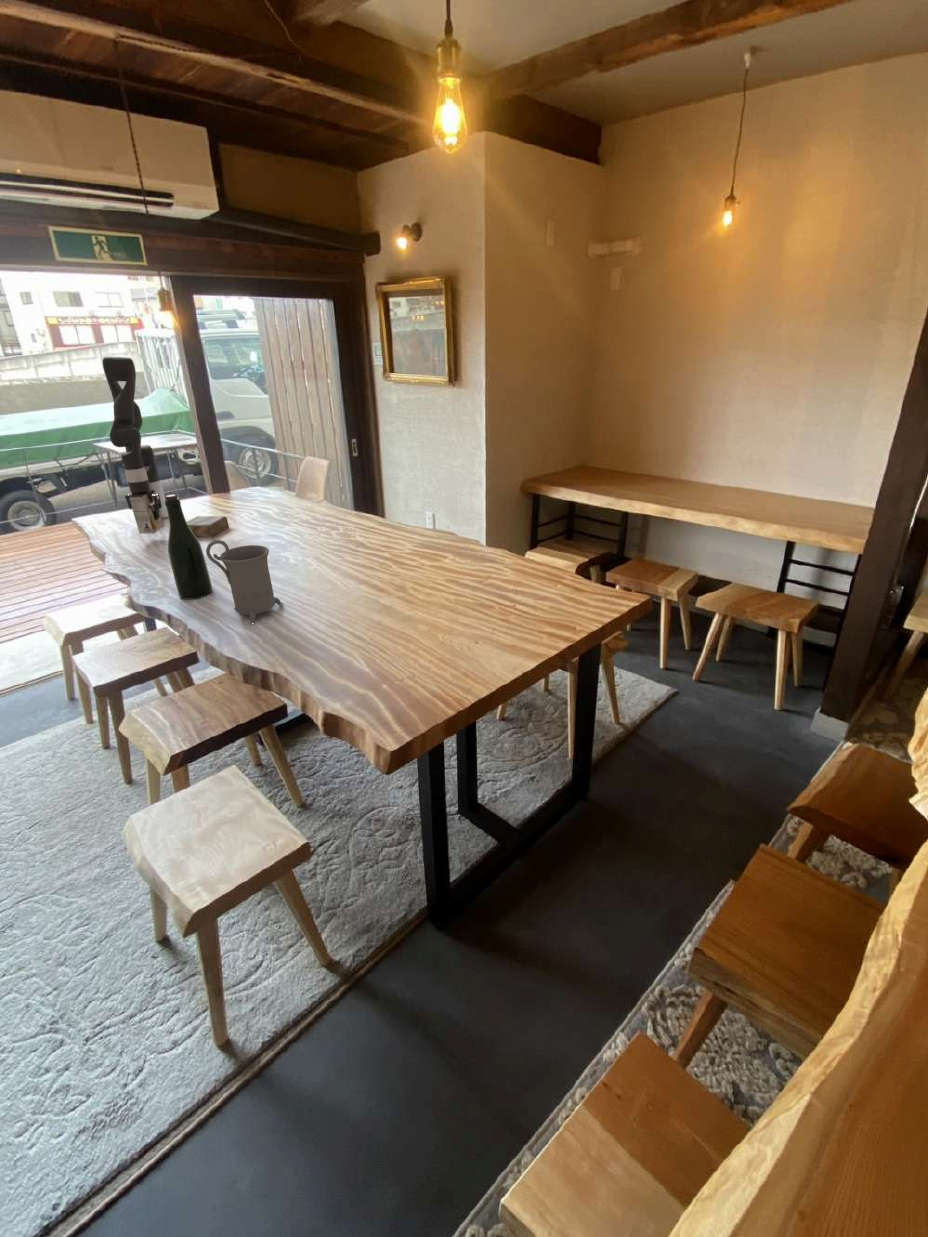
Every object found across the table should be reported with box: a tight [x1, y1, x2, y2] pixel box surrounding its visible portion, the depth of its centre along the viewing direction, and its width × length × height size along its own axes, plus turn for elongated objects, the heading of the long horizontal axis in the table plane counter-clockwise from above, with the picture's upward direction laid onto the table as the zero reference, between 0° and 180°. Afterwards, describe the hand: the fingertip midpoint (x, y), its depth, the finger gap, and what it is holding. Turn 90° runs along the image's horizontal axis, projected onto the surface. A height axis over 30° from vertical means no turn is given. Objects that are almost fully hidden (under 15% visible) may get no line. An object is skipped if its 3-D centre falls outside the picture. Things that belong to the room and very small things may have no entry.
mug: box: [205, 539, 284, 624], centre depth 175 cm, size 19×15×25 cm
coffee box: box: [128, 490, 165, 535], centre depth 244 cm, size 9×6×16 cm
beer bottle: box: [164, 494, 213, 599], centre depth 189 cm, size 10×10×33 cm
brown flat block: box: [186, 515, 230, 539], centre depth 256 cm, size 14×14×5 cm
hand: (148, 519), depth 246 cm, fingers closed on coffee box, 6 cm apart
